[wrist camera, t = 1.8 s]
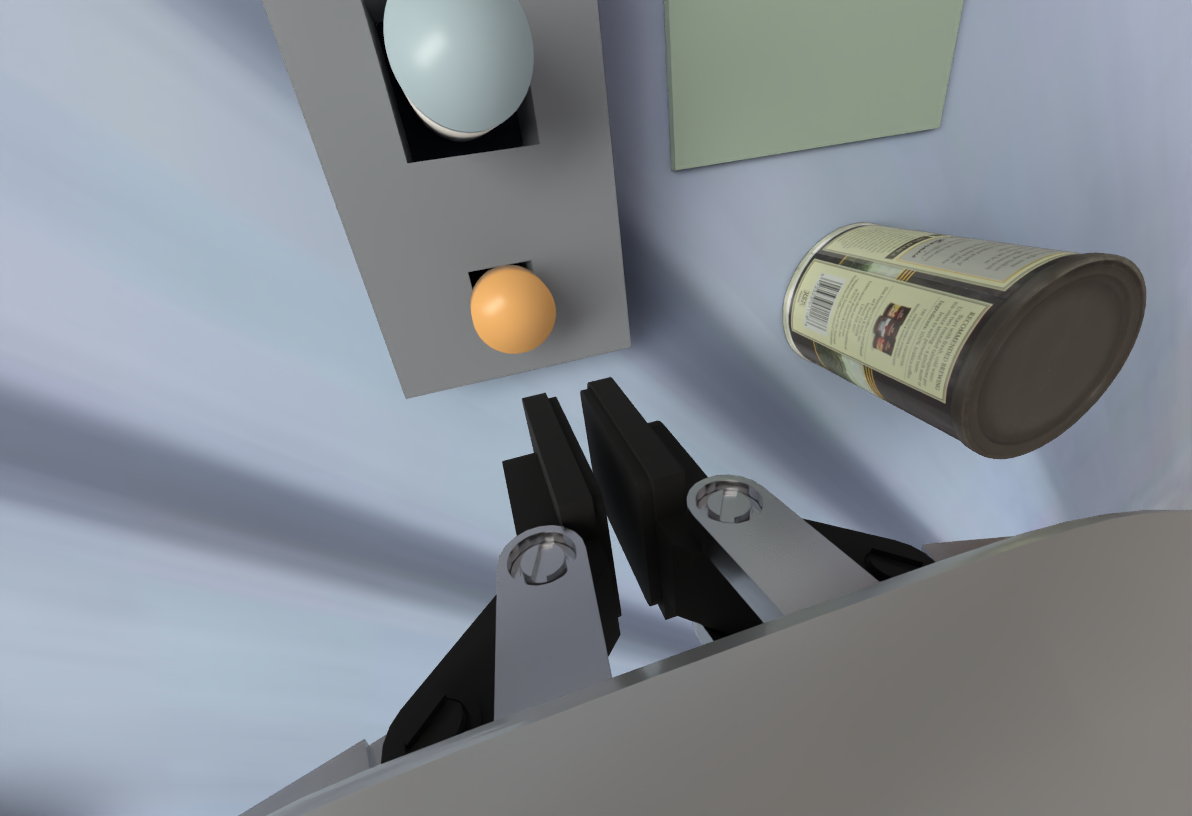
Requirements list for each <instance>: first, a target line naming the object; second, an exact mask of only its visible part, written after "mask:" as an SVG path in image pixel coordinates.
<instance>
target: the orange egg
mask: <svg viewBox="0 0 1192 816" xmlns="http://www.w3.org/2000/svg"><path fill="white" fill-rule="evenodd" d="M470 310H471V315H472V320H473V324H474V327H475V330H476V332H477V334H478V335H479V337H480V338H481V339H482V340H483V341H484V342H485V343H486V344H487V345H488V346H490V347H491V348H493V349H495V350H497V351H500V352H503V353H509V354H519V353H524V352H528V351H530V350H533V349H534V348H536V347H538V346H539V345H540V344H542V343H543V342H544V341H545V340H546V339H547V337H548V336H549V334H550V333H551V331H552V329H553V327H554V323H555V318H556V307H555V302H554V299H553V296H552V294H551V293H550V291H549V289H548V288H547V287H546V286H545V284H544V283H543V282H542V281H541V279H540V278H539V277H538V276H537V275H535V274H534V273H533V272H531V271H530V270H528V269H526V268H524V267H520V266H516V265H503V266H498V267H493V268H489V269H487V270H486V272H485V273H484V274H483V275H482V276H481V277H480V278H479V280H478V281H477V282H476V284H475V286H474V288H473V290H472V293H471V297H470Z"/></svg>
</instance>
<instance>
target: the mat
mask: <svg viewBox="0 0 1192 816" xmlns="http://www.w3.org/2000/svg"><path fill="white" fill-rule="evenodd" d="M963 2H964V0H664V17H665V39H666V62H667V84H668V106H669V129H670V151H671V170H682V169H688V168H694V167H700V166H706V165H713V164H719V163H725V162H731V161H737V160H743V159H750V158H756V157H762V156H768V155H774V154H780V153H787V152H793V151H799V150H805V149H811V148H817V147H824V146H830V145H836V144H842V143H848V142H855V141H861V140H867V139H873V138H879V137H885V136H892V135H898V134H904V133H910V132H916V131H922V130H929V129H935V128H939V127H940V122H941V117H942V112H943V106H944V101H945V96H946V91H947V86H948V80H949V75H950V70H951V65H952V60H953V54H954V49H955V44H956V39H957V34H958V28H959V23H960V18H961V13H962V7H963Z"/></svg>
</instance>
